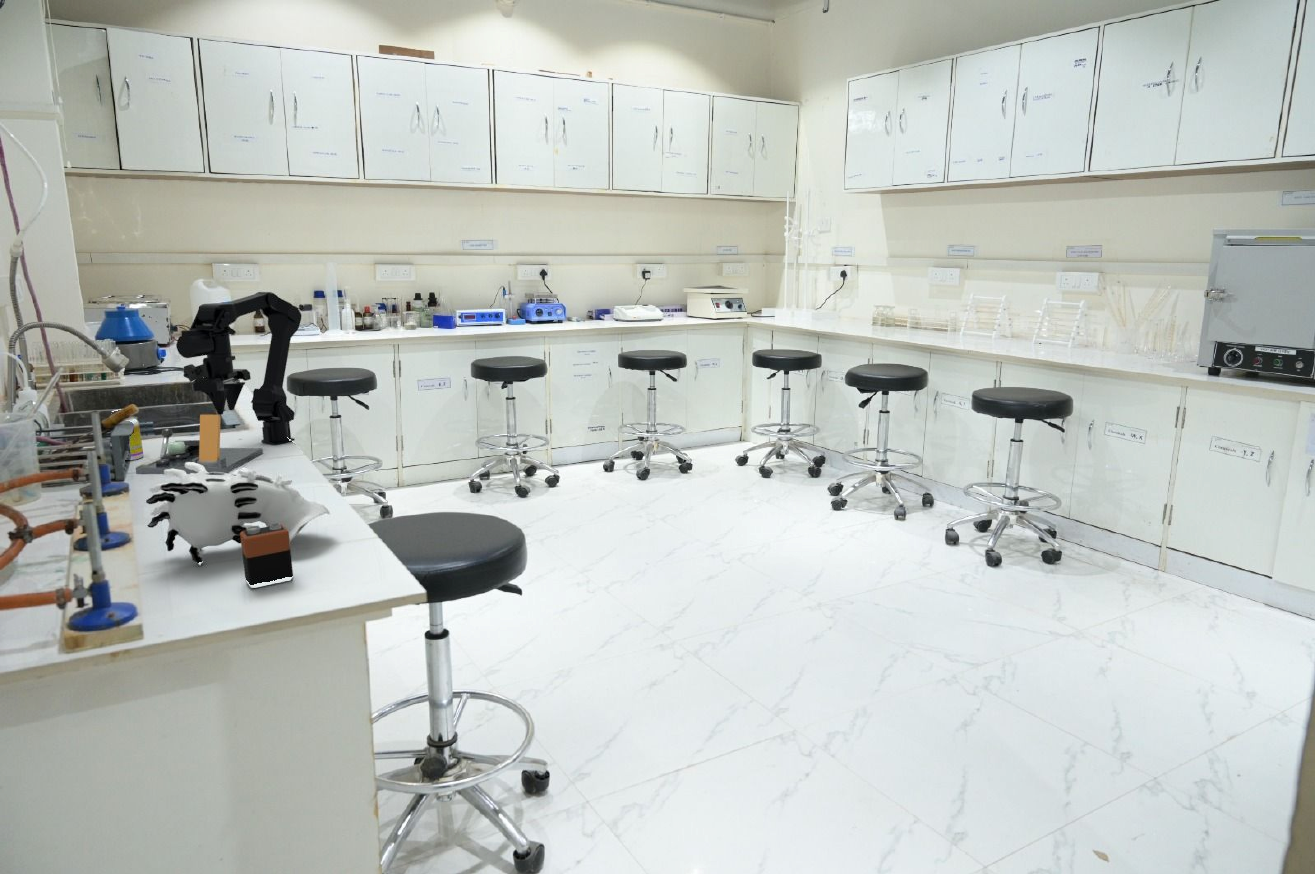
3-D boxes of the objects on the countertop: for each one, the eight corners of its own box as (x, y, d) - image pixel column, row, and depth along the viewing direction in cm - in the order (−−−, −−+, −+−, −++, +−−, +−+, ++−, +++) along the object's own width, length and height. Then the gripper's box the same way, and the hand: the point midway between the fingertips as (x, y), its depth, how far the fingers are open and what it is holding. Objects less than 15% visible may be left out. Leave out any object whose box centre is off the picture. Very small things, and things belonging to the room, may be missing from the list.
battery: (245, 582, 141) (238, 526, 139) (287, 572, 145) (282, 518, 143) (250, 590, 138) (244, 533, 135) (294, 581, 142) (288, 525, 139)
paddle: (200, 466, 206) (201, 414, 207) (221, 466, 206) (222, 414, 207) (196, 466, 205) (197, 414, 205) (218, 466, 205) (219, 414, 205)
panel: (182, 452, 225) (180, 439, 225) (263, 453, 225) (262, 440, 225) (134, 474, 205) (132, 459, 204) (224, 474, 205) (222, 460, 204)
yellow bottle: (149, 455, 223) (143, 408, 220) (132, 462, 216) (125, 413, 213) (126, 454, 223) (119, 407, 220) (108, 461, 217) (100, 412, 214)
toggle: (160, 459, 209) (165, 429, 212) (170, 459, 209) (175, 429, 212) (154, 457, 207) (160, 427, 209) (164, 457, 207) (170, 427, 209)
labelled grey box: (189, 444, 224) (189, 439, 224) (204, 444, 224) (204, 439, 224) (174, 445, 217) (174, 440, 217) (190, 445, 217) (190, 440, 217)
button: (173, 450, 216) (172, 441, 215) (188, 450, 216) (187, 441, 215) (165, 454, 212) (164, 444, 212) (180, 454, 212) (179, 444, 212)
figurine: (332, 568, 155) (142, 576, 141) (322, 540, 169) (149, 544, 155) (337, 480, 152) (144, 479, 138) (327, 459, 166) (151, 457, 152)
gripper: (206, 348, 225) (213, 405, 228) (167, 358, 207) (175, 419, 210) (248, 348, 225) (254, 405, 228) (212, 358, 207) (219, 419, 210)
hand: (226, 412), depth 219 cm, fingers open, 5 cm apart
